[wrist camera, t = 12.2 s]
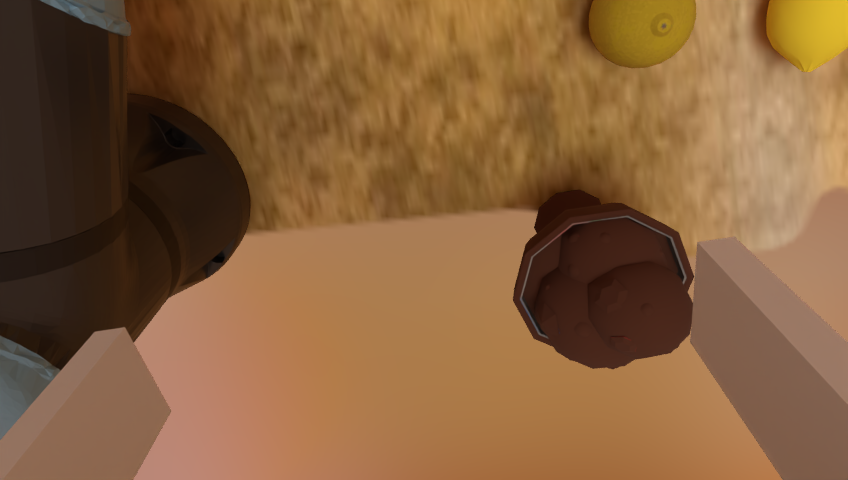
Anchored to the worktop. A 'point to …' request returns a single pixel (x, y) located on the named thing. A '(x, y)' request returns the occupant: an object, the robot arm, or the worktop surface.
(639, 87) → the worktop surface
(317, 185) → the worktop surface
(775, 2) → the lemon
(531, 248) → the ice cream bowl
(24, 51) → the robot arm
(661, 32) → the lemon
